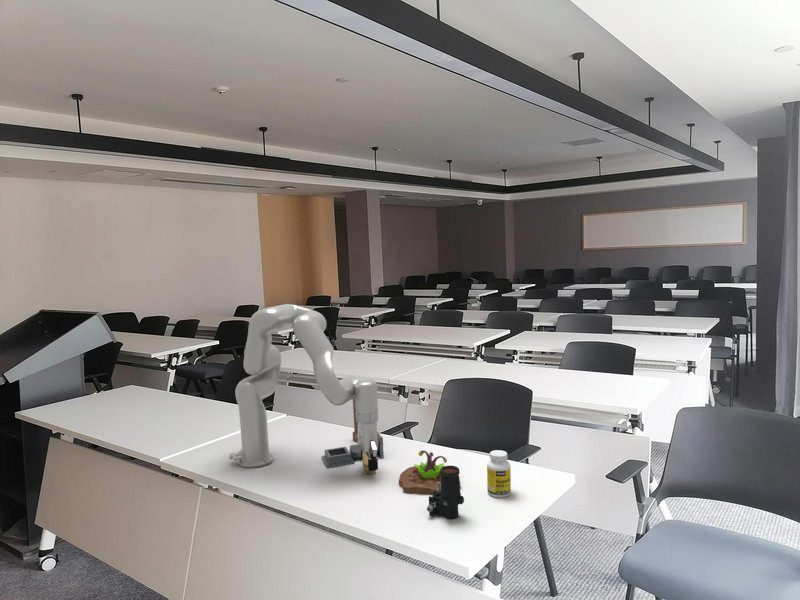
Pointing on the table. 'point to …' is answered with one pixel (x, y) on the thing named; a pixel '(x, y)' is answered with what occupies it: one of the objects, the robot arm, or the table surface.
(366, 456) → the cylinder
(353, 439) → the wooden block
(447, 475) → the scope
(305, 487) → the table surface
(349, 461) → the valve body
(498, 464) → the supplement bottle
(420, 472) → the plant
